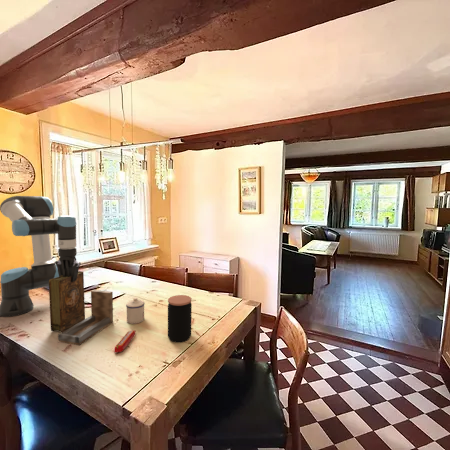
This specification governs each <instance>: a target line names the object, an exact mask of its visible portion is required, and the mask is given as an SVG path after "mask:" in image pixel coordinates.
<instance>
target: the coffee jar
mask: <svg viewBox="0 0 450 450" xmlns="http://www.w3.org/2000/svg"><path fill="white" fill-rule="evenodd" d="M167 303H168V305H167V337H168V340H170V341H171V342H173V343H177V344H178V343H184V342H187V341H189V339H190V337H192V305H193V304H192V297H191V296H189V295H184V294H177V295H171V296H170V297H169V298H168V300H167Z"/></svg>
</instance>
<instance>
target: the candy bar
mask: <svg viewBox="0 0 450 450" xmlns="http://www.w3.org/2000/svg"><path fill="white" fill-rule="evenodd" d="M136 332H137V331H136V330H133V329H132V330H129V331H128V332H126V333H125V335H124V336H122V338H121V339H120V340H119V342H118V343H117V344H116V345H115V346H114V351H113V353H121V352H124V350H125V349H126V348H127V347H128V345H129V344H130V343H131V341H132V340H133V339H134V337H135V336H136Z"/></svg>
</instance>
